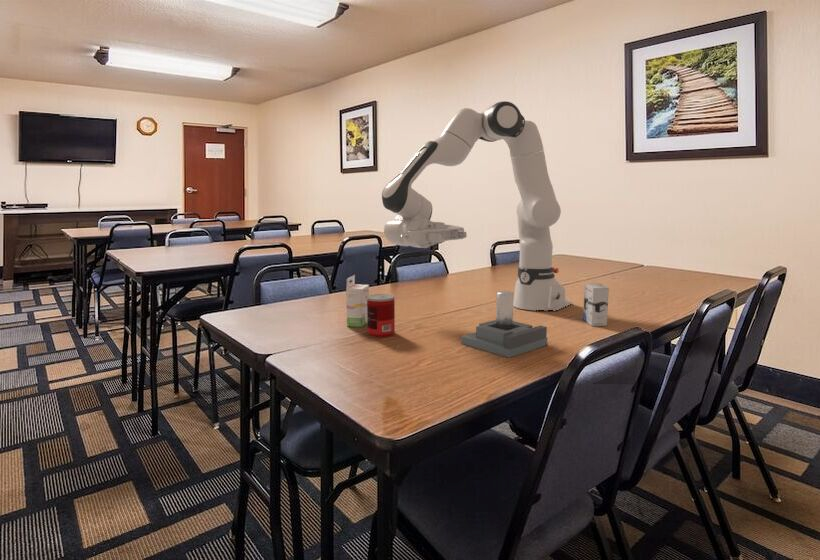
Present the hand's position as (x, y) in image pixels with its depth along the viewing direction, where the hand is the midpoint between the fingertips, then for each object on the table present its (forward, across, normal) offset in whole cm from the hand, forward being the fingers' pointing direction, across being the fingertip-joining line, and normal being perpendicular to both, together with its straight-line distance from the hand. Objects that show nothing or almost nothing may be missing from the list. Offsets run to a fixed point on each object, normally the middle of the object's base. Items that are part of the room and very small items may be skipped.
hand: (454, 236), depth 151 cm
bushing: (+22, -4, +25) cm, 34 cm away
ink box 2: (+26, +35, +28) cm, 52 cm away
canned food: (-8, -22, +27) cm, 36 cm away
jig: (+22, -4, +27) cm, 36 cm away
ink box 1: (-22, -20, +27) cm, 40 cm away
